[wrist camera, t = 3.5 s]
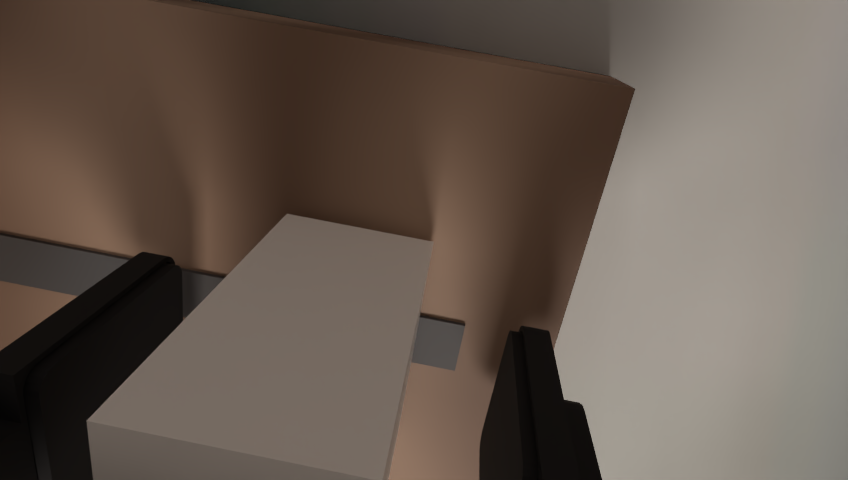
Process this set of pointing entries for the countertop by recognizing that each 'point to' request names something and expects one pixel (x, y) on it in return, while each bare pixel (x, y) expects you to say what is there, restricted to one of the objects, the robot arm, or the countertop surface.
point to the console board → (300, 173)
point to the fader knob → (277, 366)
